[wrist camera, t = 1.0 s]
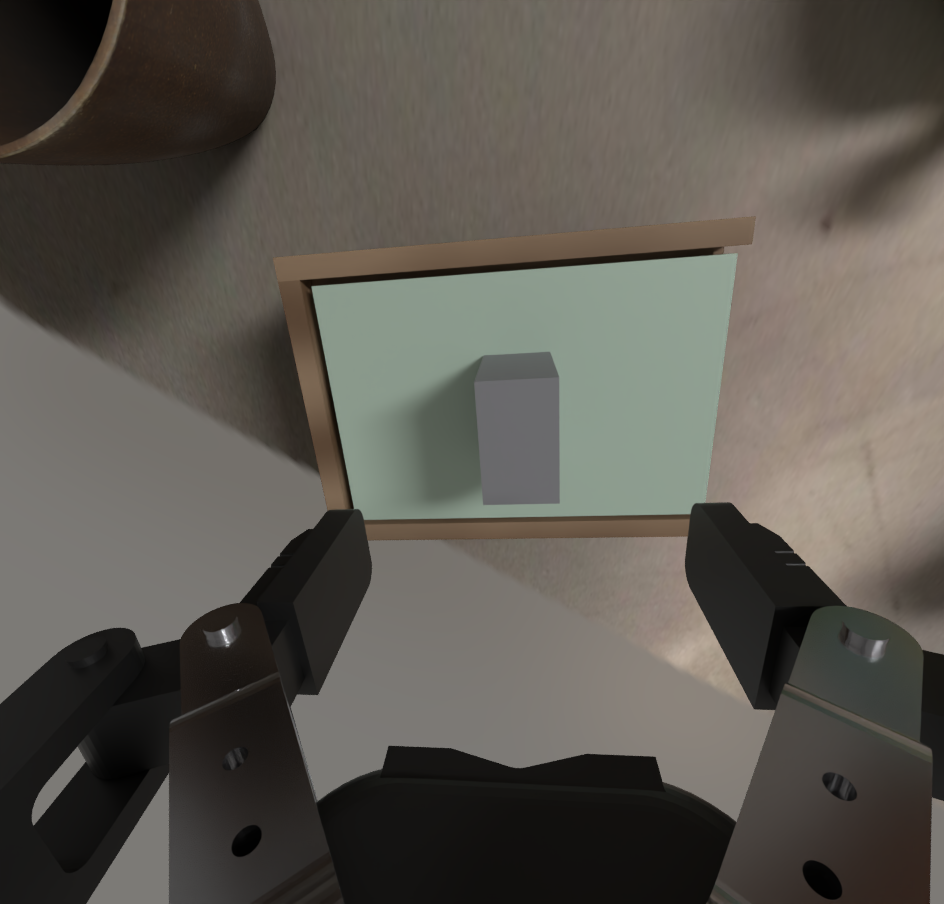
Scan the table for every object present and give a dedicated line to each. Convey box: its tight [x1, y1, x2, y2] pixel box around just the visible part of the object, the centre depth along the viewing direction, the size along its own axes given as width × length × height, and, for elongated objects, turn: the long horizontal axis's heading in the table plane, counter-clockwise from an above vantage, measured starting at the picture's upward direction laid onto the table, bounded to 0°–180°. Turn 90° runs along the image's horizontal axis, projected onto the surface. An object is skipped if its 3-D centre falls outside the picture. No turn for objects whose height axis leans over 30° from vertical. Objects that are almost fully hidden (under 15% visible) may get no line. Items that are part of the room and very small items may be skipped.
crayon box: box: [273, 216, 756, 540], centre depth 27 cm, size 15×20×10 cm
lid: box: [311, 253, 738, 520], centre depth 20 cm, size 12×18×6 cm, turn 94°
